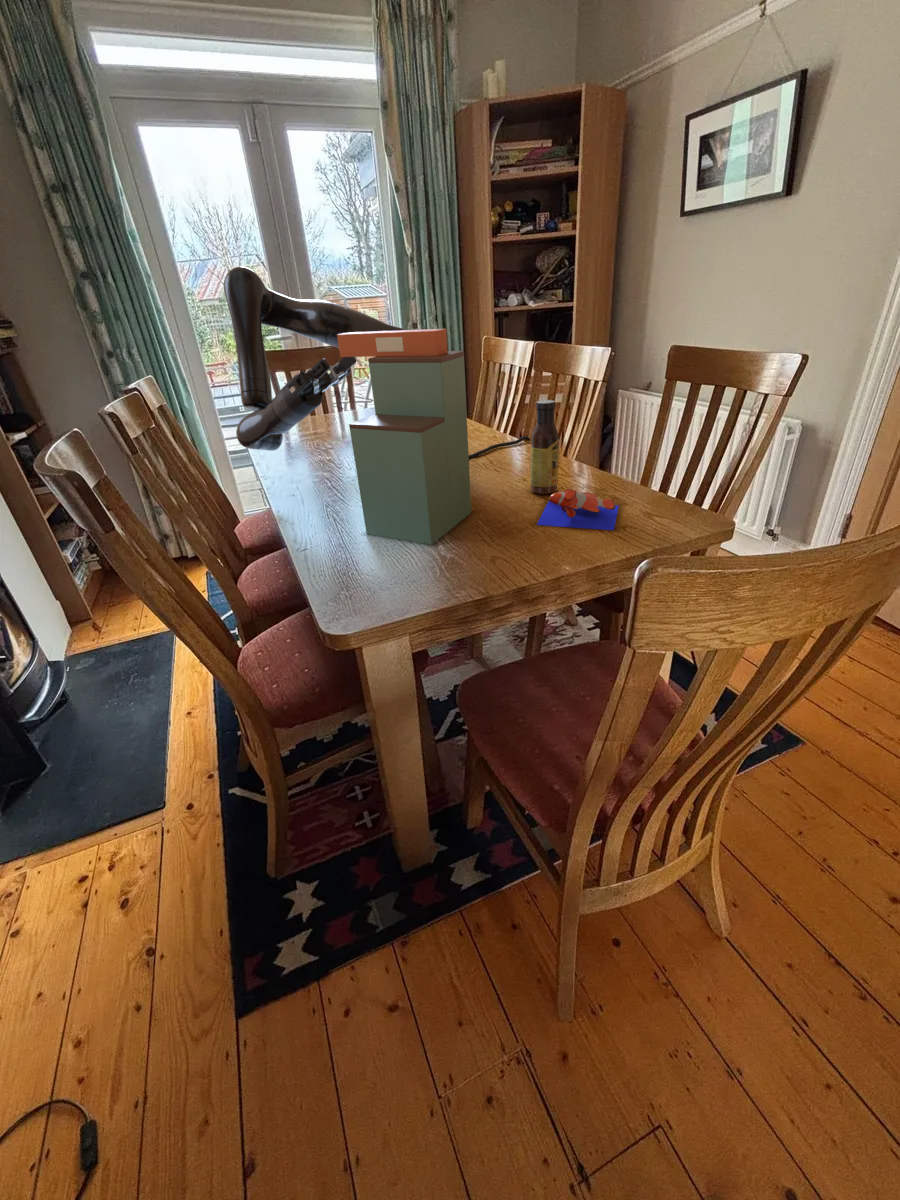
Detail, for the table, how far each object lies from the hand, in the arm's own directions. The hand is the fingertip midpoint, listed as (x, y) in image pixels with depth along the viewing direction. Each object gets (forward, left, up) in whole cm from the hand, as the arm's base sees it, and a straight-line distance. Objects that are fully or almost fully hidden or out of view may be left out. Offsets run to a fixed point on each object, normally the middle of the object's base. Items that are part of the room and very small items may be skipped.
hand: (340, 359), depth 107 cm
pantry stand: (-2, +18, -31) cm, 36 cm away
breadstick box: (-4, +12, +1) cm, 13 cm away
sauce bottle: (-33, +26, -31) cm, 53 cm away
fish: (-26, +41, -31) cm, 58 cm away
